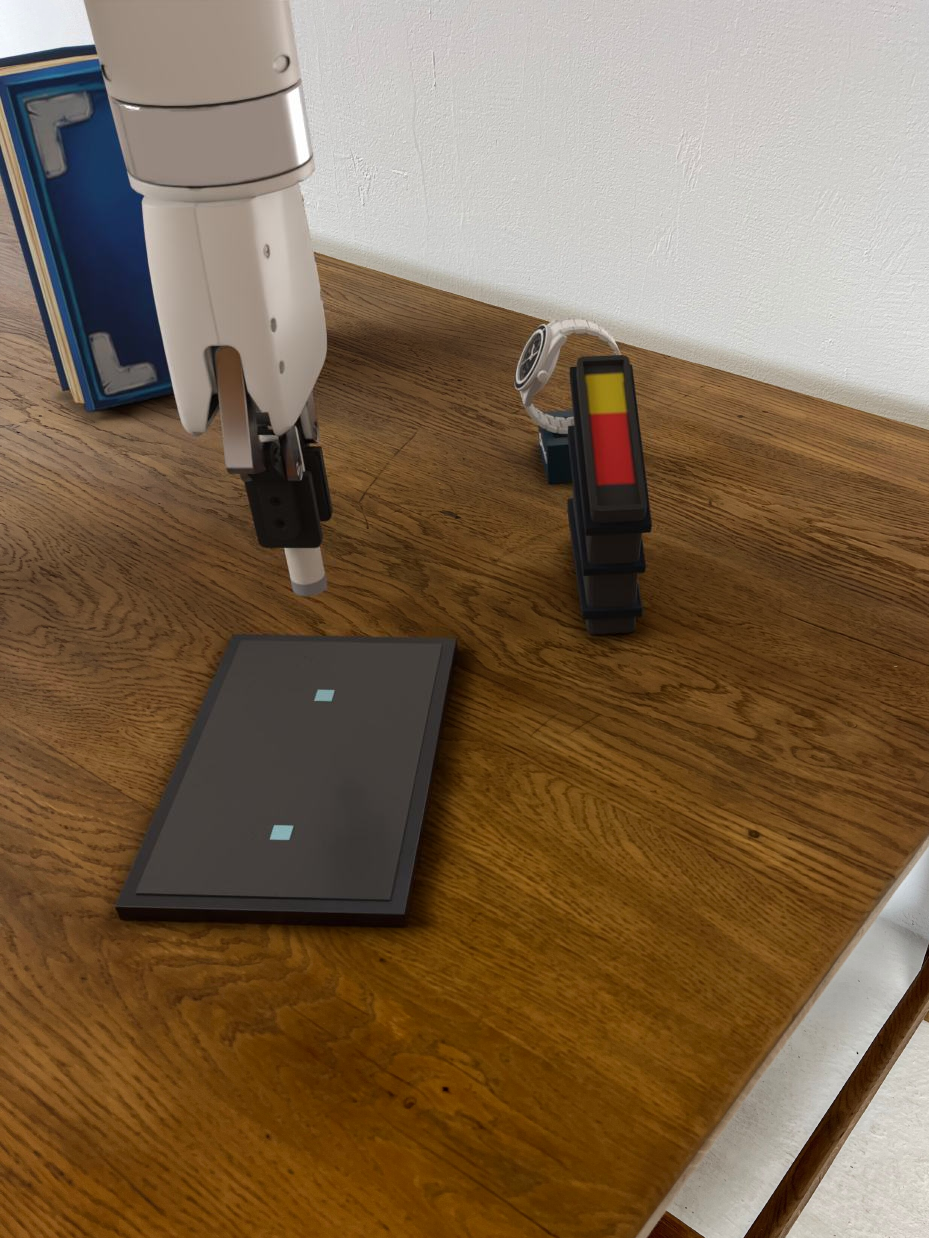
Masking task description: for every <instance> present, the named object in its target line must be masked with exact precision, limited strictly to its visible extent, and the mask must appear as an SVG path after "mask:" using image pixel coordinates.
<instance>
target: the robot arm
mask: <svg viewBox="0 0 929 1238" xmlns="http://www.w3.org/2000/svg"><path fill="white" fill-rule="evenodd" d="M83 3H84V8H85V11H86V16H87V20H88V23H89V27H90V31H91V35H92V39H93V42H94V43H93V44H95V47H96V51H97V55H98V59H99V62H100V66H101V70H102V74H103V78H104V82H105V86H106V90H107V93H108V99H109V102H110V106H111V110H112V114H113V118H114V122H115V126H116V130H117V133H118V137H119V141H120V145H121V149H122V153H123V157H124V161H125V165H126V168H127V173H128V177H129V181H130V185H131V187H132V189H134V190H135V191H136V192H138V193H140V194H142V195H144V198H143V200H142V210H143V222H144V232H145V241H146V248H147V256H148V264H149V270H150V276H151V282H152V288H153V294H154V299H155V305H156V310H157V315H158V320H159V325H160V329H161V334H162V339H163V344H164V349H165V354H166V358H167V363H168V367H169V372H170V377H171V381H172V386H173V390H174V393H173V394H174V398H175V403H176V406H177V407H176V408H177V412H178V415H179V416H178V417H179V420H180V423H181V425H182V427H183V428H184V430H185V432H187V433H188V434H189V435H191V436H193V437H199V436H202V435H204V434H205V433H207V431H208V429H209V428H210V425H211V424H212V422H213V421H214V419H215V417H216V416H217V414H218V412H219V417H220V427H221V436H222V443H223V444H222V445H223V454H224V463H225V470H226V471H227V473H228V474H229V475H240V476H239V477H240V479H241V481H242V482H243V483H244V487H245V491H246V495H247V500H248V504H249V509H250V514H251V517H252V522H253V526H254V530H255V535H256V538H257V542H258V544H259V546H261V547H263V548H265V549H284V548H318V547H319V546H321V545H322V542H323V539H324V535H323V534H324V533H323V529H322V524H321V523H324V522H329V521H330V520H331V518H332V516H333V514H334V510H333V509H334V508H333V502H332V497H331V493H330V487H329V481H328V475H327V469H326V464H325V459H324V453H323V447H322V445H319V446H318V445H316V444H318V443H319V440H320V427H319V420H318V414H317V408H316V404H315V399H314V391H313V389H314V387H315V384H316V383H317V380H318V378H319V376H320V373H321V371H322V369H323V367H324V364H325V361H326V357H327V350H328V336H327V325H326V324H327V323H326V317H325V309H324V302H323V295H322V289H321V283H320V277H319V273H318V272H319V271H318V267H317V266H318V265H317V261H316V256H315V250H314V245H313V242H312V236H311V231H310V226H309V221H308V218H307V213H306V207H305V204H304V202H305V200H304V196H303V194H302V190H301V186H300V183H302V182H304V181H306V180H308V179H309V178H310V177H311V176H312V175H313V173H314V172H315V170H316V164H315V158H314V157H315V156H314V151H313V145H312V144H313V143H312V138H311V132H310V125H309V124H310V123H309V119H308V118H309V117H308V112H307V106H306V99H305V93H304V85H303V79H302V76H301V75H302V74H301V69H300V62H299V55H298V48H297V42H296V35H295V30H294V24H293V23H294V22H293V17H292V10H291V3H290V0H83ZM295 426H296V428H297V431H298V437H299V442H300V447H301V452H302V457H303V463H304V468H305V471H303V466H302V460H301V455H300V450H299V445H298V440H297V435H296V429H295ZM260 435H277V436H278V439H279V443H280V447H279V446H278V445H277V444H276V443H275V442H274V441H261V440H260ZM310 444H312V445H310ZM313 444H315V445H313Z"/></svg>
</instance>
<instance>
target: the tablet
mask: <svg viewBox="0 0 929 1238" xmlns="http://www.w3.org/2000/svg"><path fill="white" fill-rule="evenodd" d="M458 648H459V647H458V638H456V637H421V636H420V637H417V636H416V637H415V636H414V637H412V636H365V635H363V636H358V635H357V636H356V635H310V634H309V635H305V634H303V635H302V634H300V635H299V634H250V633H249V634H247V633H244V634H243V633H240V634H239V633H233V634H232V635H231V636H230V639H229V642H228V643H227V646H226V648H225V651H224V653H223V655H222V657H221V660H220V662H219V664H218V667H217V669H216V671H215V674H214V676H213V678H212V680H211V682H210V685H209V687H208V690H207V692H206V695H205V697H204V699H203V701H202V704H201V706H200V708H199V711H198V713H197V716H196V717H195V720H194V722H193V725H192V727H191V729H190V731H189V734H188V735H187V738H186V741H185V743H184V745H183V748H182V750H181V751H180V754H179V756H178V758H177V761H176V764H175V765H174V768H173V771H172V773H171V775H170V778H169V780H168V782H167V784H166V787H165V789H164V791H163V794H162V796H161V799H160V801H159V803H158V805H157V807H156V809H155V812H154V814H153V817H152V819H151V822H150V823H149V826H148V829H147V830H146V833H145V835H144V837H143V840H142V842H141V844H140V847H139V849H138V851H137V854H136V856H135V858H134V860H133V863H132V864H131V868H130V869H129V872H128V875H127V877H126V879H125V881H124V884H123V886H122V888H121V890H120V892H119V896H118V897H117V900H116V902H115V904H114V909H115V911H116V914H117V917H118V918H119V920H128V921H129V920H131V921H132V920H133V921H163V922H164V921H165V922H167V921H168V922H169V921H172V922H203V923H205V922H207V923H242V924H277V925H278V924H281V925H315V926H349V927H350V926H353V927H354V926H355V927H356V926H357V927H386V928H387V927H392V928H393V927H394V928H406V927H407V925H408V920H409V916H410V909H411V904H412V899H413V893H414V888H415V882H416V878H417V874H418V873H417V872H418V867H419V861H420V857H421V856H420V855H421V851H422V845H423V840H424V834H425V831H426V825H427V818H428V812H429V807H430V802H431V798H432V796H431V795H432V791H433V786H434V781H435V775H436V770H437V765H438V760H439V759H438V758H439V754H440V749H441V743H442V737H443V733H444V727H445V721H446V716H447V711H448V705H449V701H450V694H451V690H452V685H453V680H454V679H453V678H454V674H455V668H456V662H457V657H458V651H459V649H458Z"/></svg>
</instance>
